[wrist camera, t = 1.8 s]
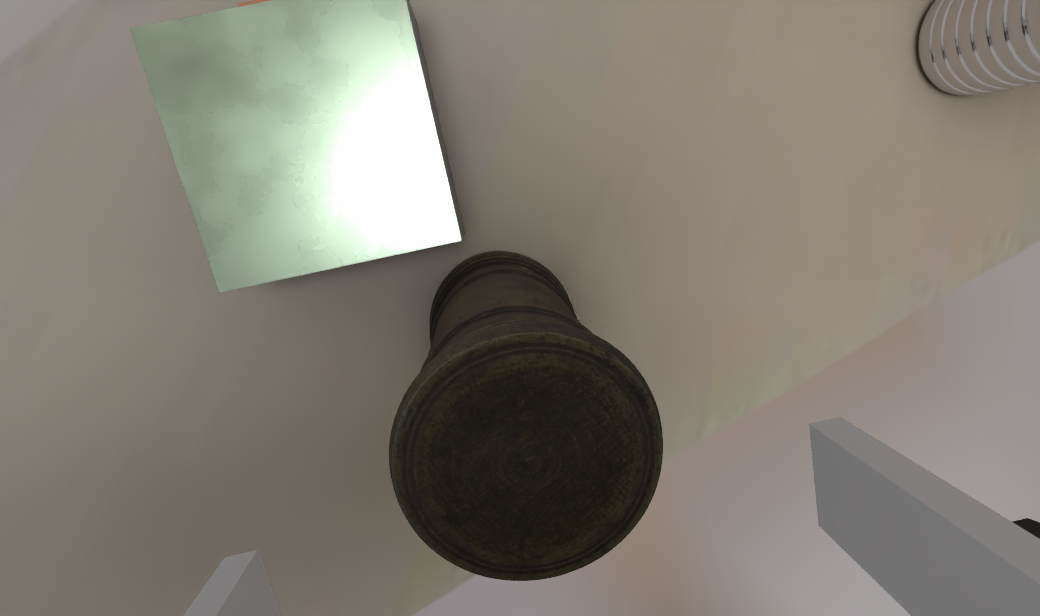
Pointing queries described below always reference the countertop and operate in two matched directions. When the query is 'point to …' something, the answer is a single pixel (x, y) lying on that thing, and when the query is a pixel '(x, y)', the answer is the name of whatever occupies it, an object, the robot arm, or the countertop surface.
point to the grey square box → (302, 134)
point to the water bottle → (981, 45)
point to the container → (521, 429)
